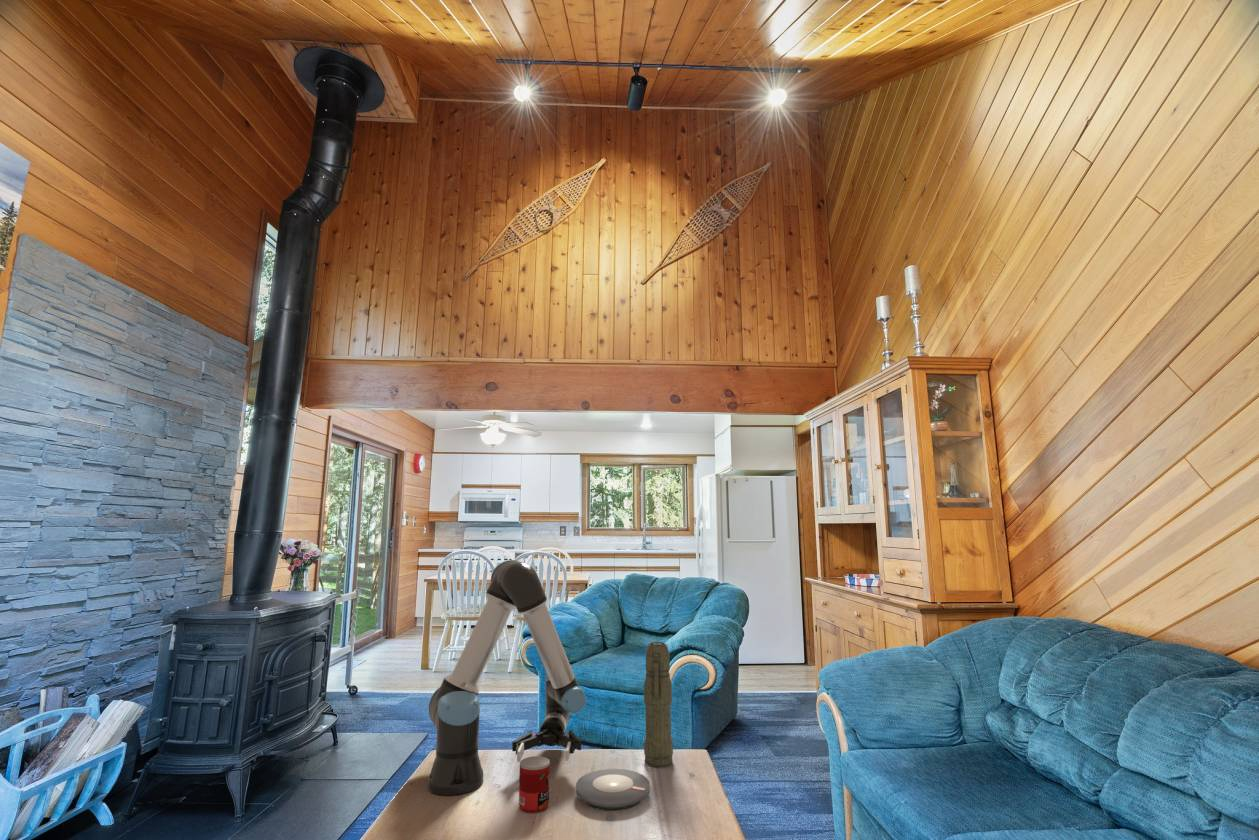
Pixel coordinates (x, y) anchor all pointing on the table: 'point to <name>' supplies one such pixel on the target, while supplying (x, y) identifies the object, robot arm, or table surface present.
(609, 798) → the turntable
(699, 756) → the table surface
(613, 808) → the turntable base
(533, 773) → the canned food
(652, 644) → the olive brown statue
